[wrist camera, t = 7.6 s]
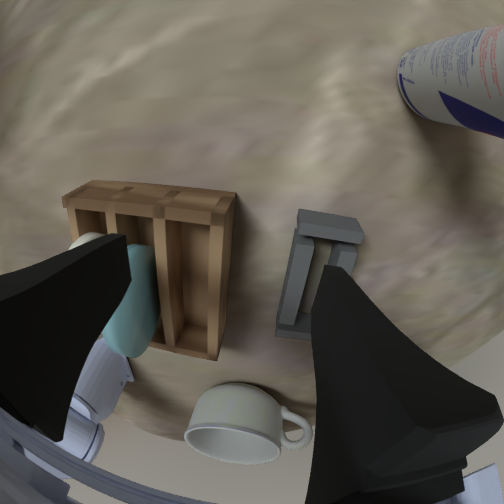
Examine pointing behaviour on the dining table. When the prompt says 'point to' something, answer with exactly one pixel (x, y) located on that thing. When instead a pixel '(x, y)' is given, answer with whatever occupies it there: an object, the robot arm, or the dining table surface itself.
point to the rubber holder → (301, 253)
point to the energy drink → (458, 80)
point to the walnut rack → (170, 252)
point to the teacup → (242, 425)
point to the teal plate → (136, 306)
